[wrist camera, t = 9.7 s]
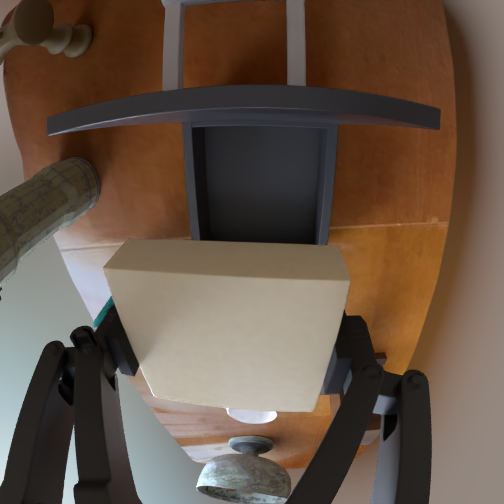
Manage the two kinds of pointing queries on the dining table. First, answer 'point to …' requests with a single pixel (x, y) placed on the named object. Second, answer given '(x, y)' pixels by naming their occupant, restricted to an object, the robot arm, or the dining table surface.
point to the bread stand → (375, 420)
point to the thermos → (43, 209)
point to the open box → (260, 180)
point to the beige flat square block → (231, 319)
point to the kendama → (42, 31)
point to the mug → (252, 415)
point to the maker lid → (244, 92)
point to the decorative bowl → (245, 474)
